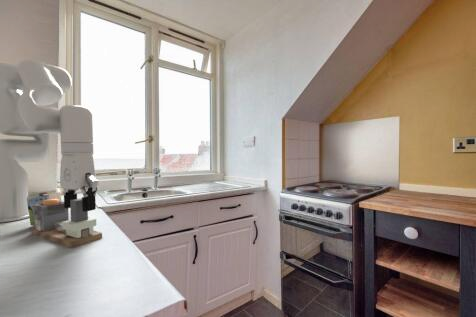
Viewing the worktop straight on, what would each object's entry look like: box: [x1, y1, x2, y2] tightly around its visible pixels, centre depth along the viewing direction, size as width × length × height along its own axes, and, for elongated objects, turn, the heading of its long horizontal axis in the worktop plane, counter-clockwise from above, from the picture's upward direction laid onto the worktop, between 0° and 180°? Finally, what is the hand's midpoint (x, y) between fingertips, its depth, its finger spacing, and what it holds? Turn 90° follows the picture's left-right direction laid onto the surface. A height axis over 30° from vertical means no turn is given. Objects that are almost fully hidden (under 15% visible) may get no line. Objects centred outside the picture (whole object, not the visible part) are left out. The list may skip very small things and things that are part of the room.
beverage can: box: [27, 191, 51, 227], centre depth 78 cm, size 6×7×12 cm
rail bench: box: [30, 200, 103, 249], centre depth 68 cm, size 25×8×9 cm, turn 62°
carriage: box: [62, 197, 97, 238], centre depth 64 cm, size 6×6×10 cm
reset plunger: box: [43, 198, 60, 206], centre depth 72 cm, size 4×4×2 cm
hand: (79, 208), depth 63 cm, fingers open, 9 cm apart
